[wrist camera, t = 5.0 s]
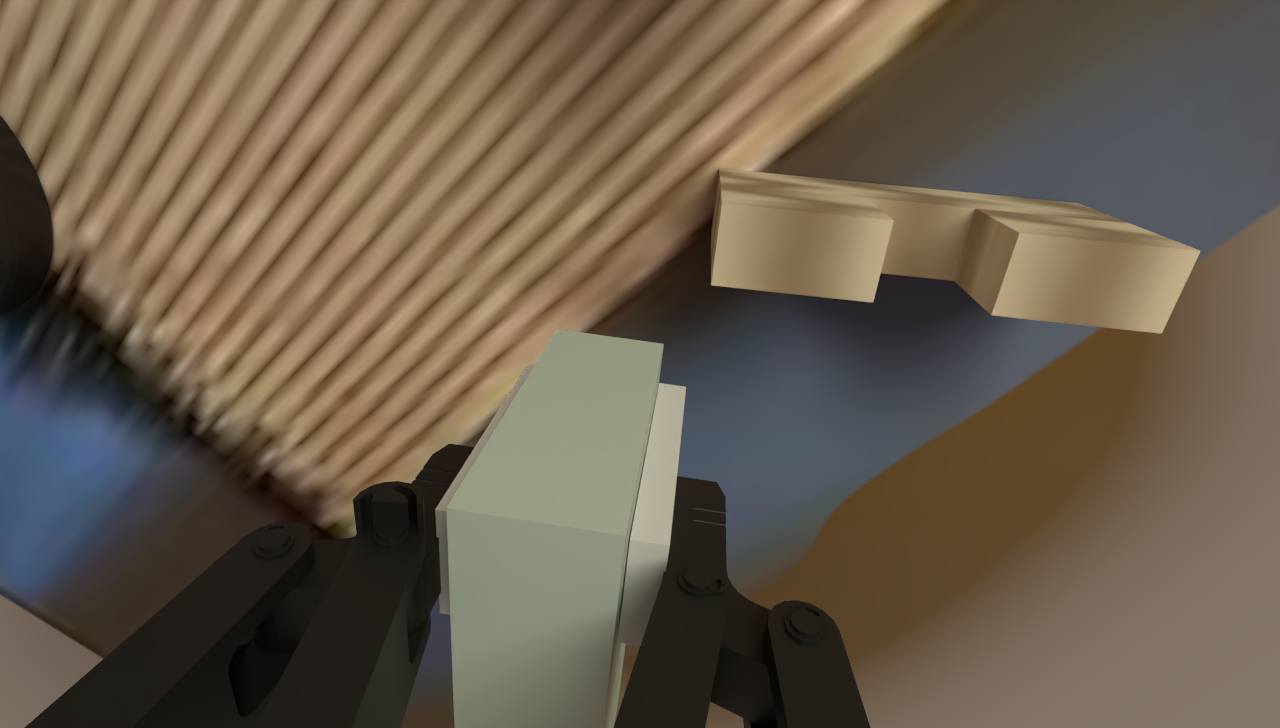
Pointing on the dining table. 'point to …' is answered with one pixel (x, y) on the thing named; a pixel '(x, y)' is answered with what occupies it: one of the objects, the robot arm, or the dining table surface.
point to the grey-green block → (551, 539)
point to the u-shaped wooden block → (944, 248)
